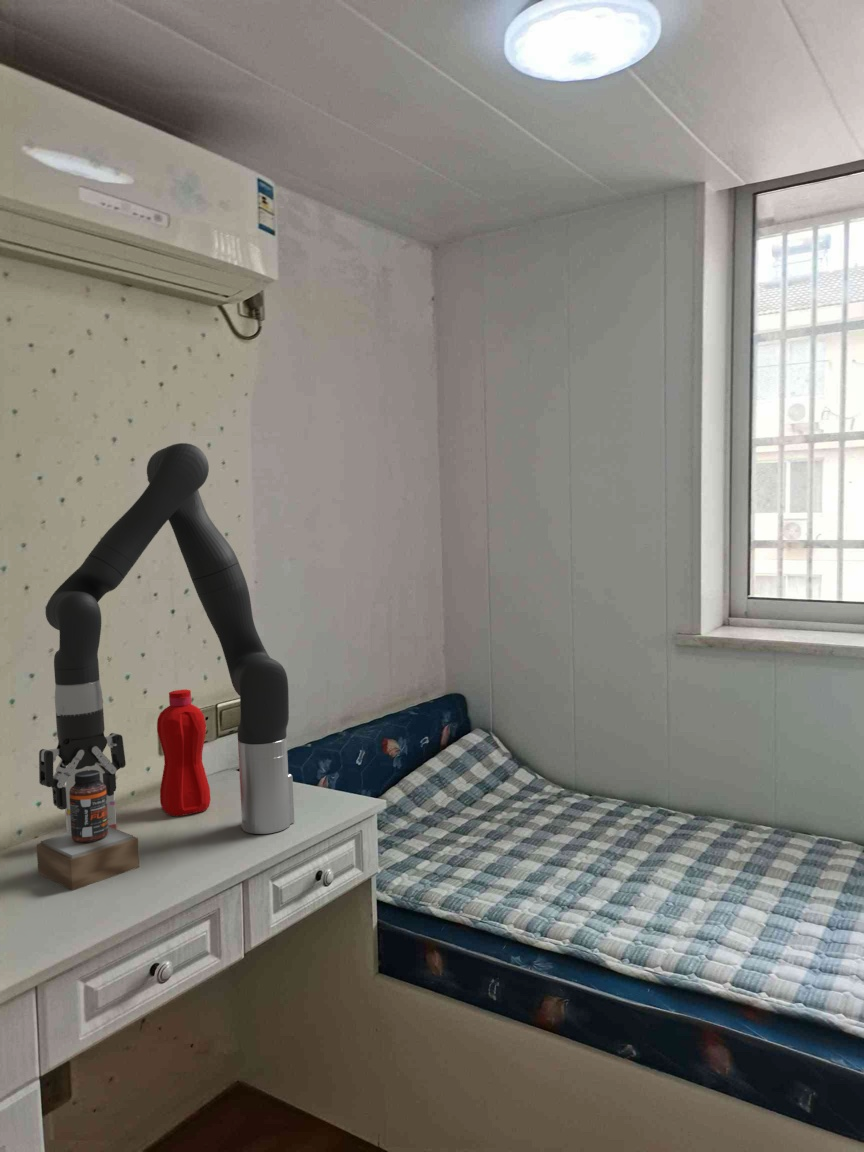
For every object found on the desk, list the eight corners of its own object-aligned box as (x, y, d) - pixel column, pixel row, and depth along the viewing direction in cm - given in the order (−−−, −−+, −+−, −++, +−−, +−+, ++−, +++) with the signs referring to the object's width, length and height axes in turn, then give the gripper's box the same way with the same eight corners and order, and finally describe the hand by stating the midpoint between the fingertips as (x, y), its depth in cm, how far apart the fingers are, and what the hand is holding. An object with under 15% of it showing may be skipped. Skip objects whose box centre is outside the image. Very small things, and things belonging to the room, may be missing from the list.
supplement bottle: (95, 844, 148) (92, 778, 147) (64, 843, 149) (60, 777, 148) (115, 832, 154) (112, 768, 153) (85, 830, 155) (81, 767, 154)
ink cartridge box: (113, 831, 171) (109, 756, 170) (117, 839, 166) (113, 762, 165) (66, 839, 167) (61, 763, 166) (68, 848, 162) (64, 769, 161)
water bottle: (199, 797, 190) (193, 683, 189) (214, 811, 181) (208, 690, 179) (155, 806, 185) (149, 688, 184) (169, 820, 176) (162, 696, 174)
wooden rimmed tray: (103, 851, 160) (102, 821, 159) (139, 866, 152) (137, 835, 152) (38, 872, 151) (36, 841, 150) (72, 890, 143) (70, 857, 142)
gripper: (106, 698, 157) (112, 787, 158) (27, 713, 147) (34, 809, 148) (129, 702, 152) (135, 794, 153) (48, 718, 142) (55, 817, 143)
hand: (85, 801), depth 151 cm, fingers open, 8 cm apart
